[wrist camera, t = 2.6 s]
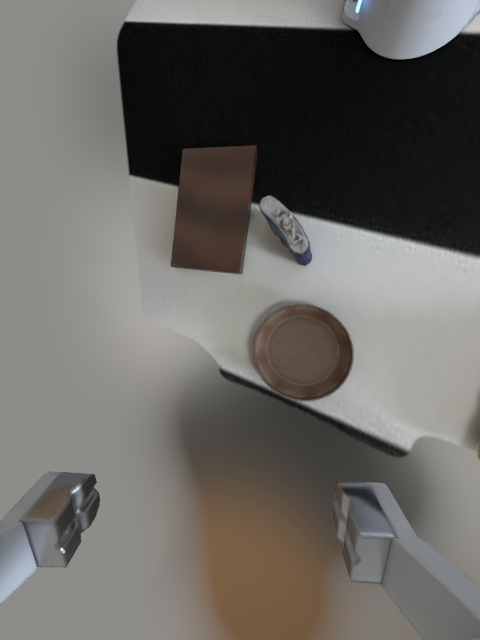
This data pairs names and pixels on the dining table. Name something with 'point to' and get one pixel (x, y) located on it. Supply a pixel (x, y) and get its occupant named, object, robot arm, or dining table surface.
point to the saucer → (303, 352)
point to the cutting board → (214, 208)
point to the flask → (286, 229)
